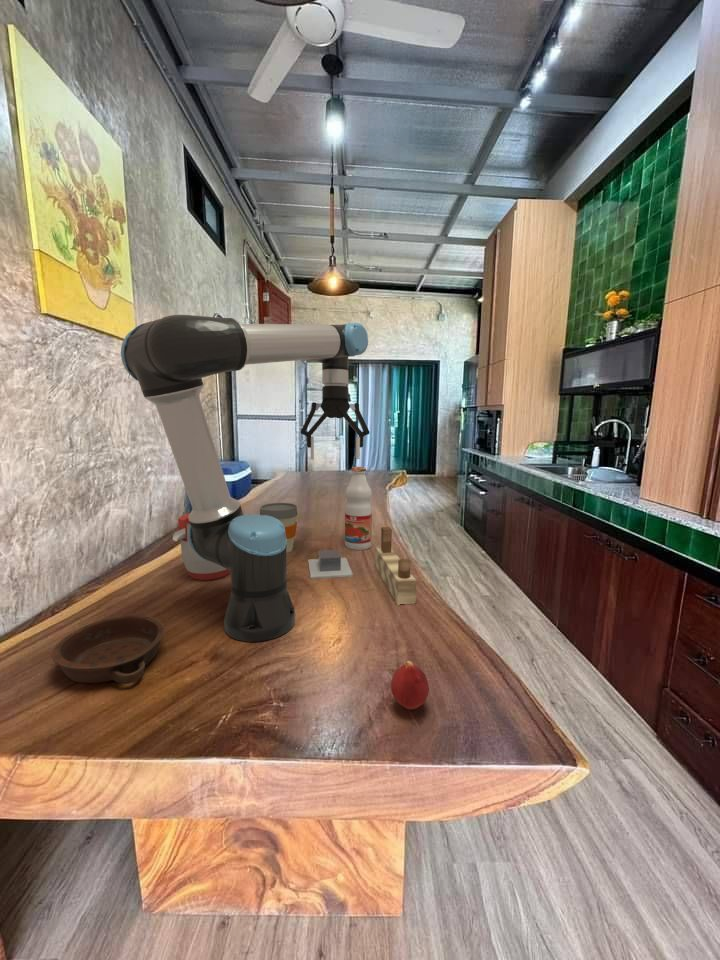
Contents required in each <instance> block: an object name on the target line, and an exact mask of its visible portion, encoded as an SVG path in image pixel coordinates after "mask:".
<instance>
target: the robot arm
mask: <svg viewBox="0 0 720 960" xmlns="http://www.w3.org/2000/svg"><path fill="white" fill-rule="evenodd" d="M368 337H369V336H368V332H367V329H366V328H365V326H364V325H363V324H361V323H359V322H347V323H346V324H345V323H344V324H313V323H312V324H304V323H303V324H301V323H299V324H298V323H296V324H294V323H293V324H291V323H289V324H287V323H286V324H285V323H282V324H281V323H241V322H240V321H239V320H237V319H236V318H234V317H220V316H219V317H217V316H207V315H206V316H204V315H193V314H192V315H190V314H172V315H167V316H164V317H161V318H159V319H155V320H151V321H148V322H143V323H141V324H139V325H136V326H135V327H134V328H133V329H132V330H130V331H129V332H128V333H126V335H125V336H124V339H123V341H122V343H121V348H120V357H121V362H122V364H123V366H124V369H125V370H126V371H127V373H128V374H129V375H130V376H131V377H132V378H134V380H135V381H137V382H138V384H139V386H140V389H141V393H142V395H143V397H144V399H145V400H147V401H149V402H151V404H153V405H155V407H156V409H157V413H158V415H159V419H160V420H161V423H162V427H163V429H164V433H165V435H166V438H167V440H168V444H169V446H170V450H171V453H172V454H173V457H174V460H175V464H176V465H177V468H178V471H179V475H180V477H181V480H182V483H183V485H184V488H185V491H186V494H187V497H188V500H189V502H190V505H191V512H189V513H190V514H189V516H188V519H189V522H190V525H191V526H190V528H189V530H188V540H189V543H190V546H191V547H192V549H193V550H194V551H195V552H196V553H197V554H198V555H199V556H201V557H202V558H203V559H205V560H207V561H211V562H213V563H215V564H217V565H219V566H222V567H224V568H226V569H228V570H230V571H231V572H230V584H231V592H230V593H231V594H230V597H229V601H228V603H227V608H226V612H225V615H224V619H223V620H224V621H223V623H224V627H223V628H224V632H225V633H226V634H227V636H229V637H230V638H232V639H235V640H237V641H240V642H250V643H252V642H254V643H255V642H264V641H269V640H273V639H277V638H278V637H281V636H283V635H285V634H286V633H288V632H290V630H291V629H292V628H293V627H294V626H295V624H296V609H295V607H294V603H293V600H292V598H291V596H290V593H289V591H288V585H287V583H288V581H287V580H288V579H287V553H286V545H287V544H286V543H287V539H286V533H285V527H284V525H283V523H282V522H281V521H280V520H278V519H276V518H274V517H271V516H267V515H260V513H259V514H258V513H251V514H250V513H249V514H244V512H243V509H242V507H241V503H240V501H239V500H238V499H236V498H234V497H232V496H231V494H230V490H229V487H228V485H227V481H226V478H225V475H224V471H223V468H222V466H221V462H220V459H219V456H218V452H217V448H216V446H215V443H214V439H213V436H212V432H211V429H210V427H209V423H208V420H207V416H206V413H205V410H204V408H203V404H202V401H201V397H200V393H201V392H202V390H203V388H204V385H205V383H204V382H203V379H202V378H207V377H209V376H214V375H218V374H223V373H227V372H238V371H240V370H242V369H244V368H245V366H246V365H247V366H248V365H257V364H269V363H270V364H272V363H283V362H294V361H296V362H297V361H307V362H315V363H321V366H322V367H321V371H322V377H321V380H322V381H321V383H322V385H324V386H322V387H321V389H322V390H321V394H322V395H321V399H322V400H321V403H318V402H314V401H313V402H312V403H311V406H310V411H309V413H308V415H307V418H306V420H305V421H304V424H303V426H302V428H301V429H300V434H301V435H303V436H305V437H306V447H307V448H308V449H309V448H310V460H314V459H315V445H314V442H315V440H314V438H315V437H314V436H312V435H313V434H314V432H316V431H317V429H318V428H319V427H320V425H322V423H323V422H324V421H325V420H326V419H327V418H329V419H343V418H344V420H345V421H346V422H347V423H348V425H349V426H350V427H351V428H352V429H353V431H355V433H356V434H357V435H358V436H355V459H357V460H359V459H360V457H361V453H360V452H361V451H360V449H361V448H363V447H364V437H365V436H367V435H370V433H371V432H370V430H369V427H368V425H367V424H366V422H365V420H364V418H363V416H362V413H361V411H360V404H359V403H358V402H355V403H349V387H348V386H347V385H349V357H355V356H360V355H363V354H364V353H365V352H366V350H367V348H368V345H369V338H368ZM319 408H320V409H321V410H322V412H323V413H322V414H321V415H320V417H319V418H318V419H317V420H316V422H315V423H314V424H313V425H312V426H311V427H310V429H309V430H308V431H307V429H308V427H309V425H310V424H311V422H312V420H313V418H314V415H315V414H316V411H319ZM350 409H351V410H352V412H354V414H355V416H356V418H357V420H358V423H359V425H360V427H361V429H362V430H361V429H360V428H359V427H358V425H357V424H356V422H355V421H354V420H353V419H352V418H351V416H350V415H349V414H348V411H349V410H350Z"/></svg>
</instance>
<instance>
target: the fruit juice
mask: <svg viewBox="0 0 720 960" xmlns="http://www.w3.org/2000/svg"><path fill="white" fill-rule="evenodd" d="M366 472H367V468H366V467H363V466H354V467H353V466H352V468H351V473H352V476H351V478H350V481H349V484H348V485H347V486H346V489H345V492H344V493H345V499H346V502H345V507H344V545H345V548H347V549H350V550H352V551H364V550H367V549H370V548H371V546H372V533H373V532H372V531H373V530H372V529H373V528H372V525H373V522H372V521H373V519H372V517H373V508H372V503H371V499H372V495H373V493H372V492H373V491H372V488H371V486H370V485H369V482H368V480H367V479H368V478H367V476H366Z"/></svg>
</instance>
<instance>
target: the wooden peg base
mask: <svg viewBox="0 0 720 960" xmlns="http://www.w3.org/2000/svg"><path fill="white" fill-rule="evenodd" d="M380 530H381V532H380V535H381V536H380V546H375V554H374V555H375V561H374V562H375V564H374V565H375V569H376V570H377V571H378V572H377V573H379V575H380V577H381V578H382V580H383V582H384V584H385V586H386V585H387V586H386V588H387V589H388V591H389V593H390V592H391V593H390V594H391V596H392V598H393V600H394V601H395V603H396V604H397V606H401V605H400V604H405V605H415V603H417V600H416V599H417V583H418V582H417V581H418V580H417V579H416V578H415V576H414V575H413V574H412V573H411V560H410V559H407V558H400V557H399V556H398V555H397V553H396V552H395V551H394V549H393V548H392V541H393V540H392V537H393V535H392V534H393V533H392V531H393V529H392V528H391V527H390V526H382V527H381V528H380Z"/></svg>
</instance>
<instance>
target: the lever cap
mask: <svg viewBox="0 0 720 960" xmlns="http://www.w3.org/2000/svg"><path fill="white" fill-rule="evenodd" d="M317 555H318V558H317V559H318V563H319V568H320V572H322V571H340V570H341V558H342V557H341V554H340V552H339V549H325V550H324V549H323V550H320V549H319V550H318V554H317Z"/></svg>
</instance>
